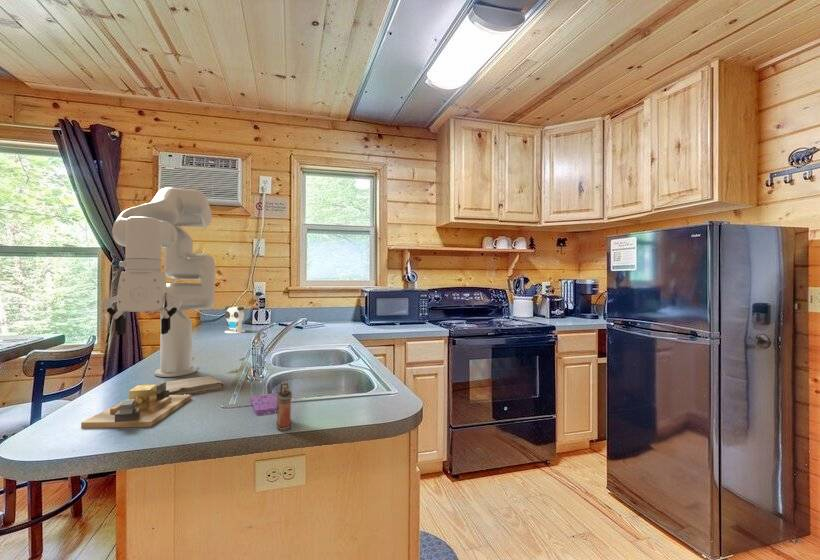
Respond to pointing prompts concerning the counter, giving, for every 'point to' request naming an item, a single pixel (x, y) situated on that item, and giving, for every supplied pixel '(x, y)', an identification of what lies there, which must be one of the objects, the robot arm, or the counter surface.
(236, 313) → the panda figurine
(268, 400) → the sponges
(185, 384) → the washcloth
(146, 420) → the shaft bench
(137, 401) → the coupler
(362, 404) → the counter surface
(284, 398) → the amber flat bottle
